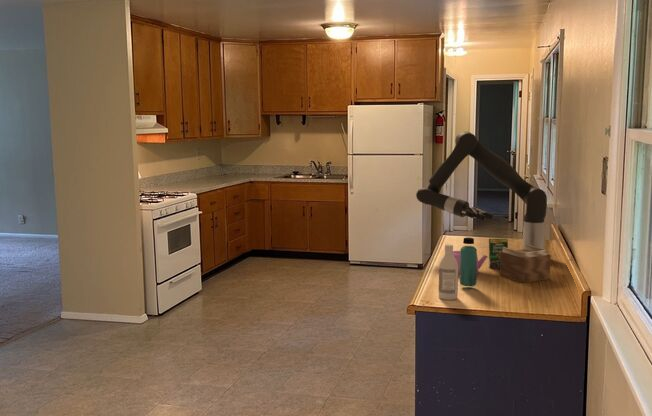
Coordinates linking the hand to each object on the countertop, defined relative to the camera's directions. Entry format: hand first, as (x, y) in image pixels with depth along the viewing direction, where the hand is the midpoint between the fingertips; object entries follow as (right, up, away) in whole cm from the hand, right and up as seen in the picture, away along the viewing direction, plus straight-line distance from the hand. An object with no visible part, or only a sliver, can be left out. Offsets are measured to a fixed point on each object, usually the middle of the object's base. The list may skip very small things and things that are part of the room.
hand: (488, 217), depth 284 cm
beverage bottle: (-17, -27, -35) cm, 47 cm away
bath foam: (-27, -29, -48) cm, 63 cm away
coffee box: (+4, -22, -1) cm, 23 cm away
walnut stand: (+10, -24, -18) cm, 32 cm away
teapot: (-12, -24, -9) cm, 28 cm away
